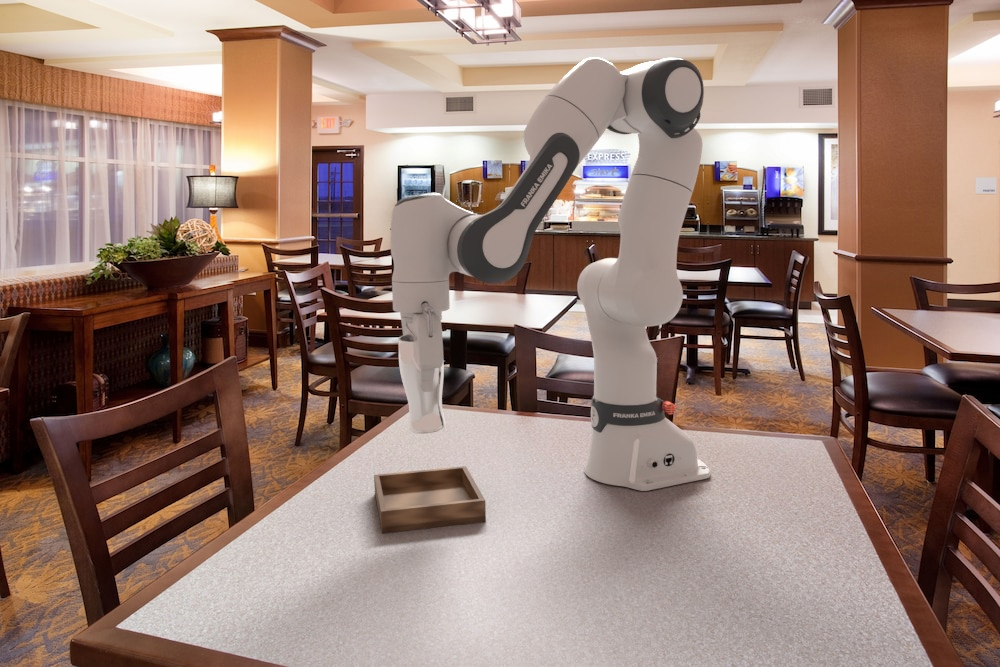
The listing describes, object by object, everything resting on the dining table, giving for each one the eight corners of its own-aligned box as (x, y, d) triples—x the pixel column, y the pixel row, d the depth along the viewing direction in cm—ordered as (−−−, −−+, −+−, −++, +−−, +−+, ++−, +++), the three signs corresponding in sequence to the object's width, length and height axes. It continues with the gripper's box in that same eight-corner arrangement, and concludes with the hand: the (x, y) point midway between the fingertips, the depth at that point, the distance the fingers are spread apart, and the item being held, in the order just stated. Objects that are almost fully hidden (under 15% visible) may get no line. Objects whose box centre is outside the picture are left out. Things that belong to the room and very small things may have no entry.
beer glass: (442, 435, 112) (434, 341, 109) (400, 434, 114) (390, 342, 110) (453, 419, 119) (446, 331, 116) (413, 419, 120) (404, 331, 117)
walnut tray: (466, 485, 128) (465, 466, 127) (485, 521, 112) (485, 500, 112) (374, 494, 124) (373, 474, 123) (381, 533, 109) (381, 511, 108)
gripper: (452, 305, 103) (454, 399, 105) (431, 291, 123) (434, 371, 125) (408, 307, 102) (411, 402, 104) (394, 293, 121) (397, 373, 124)
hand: (423, 385), depth 115 cm, fingers closed on beer glass, 6 cm apart
